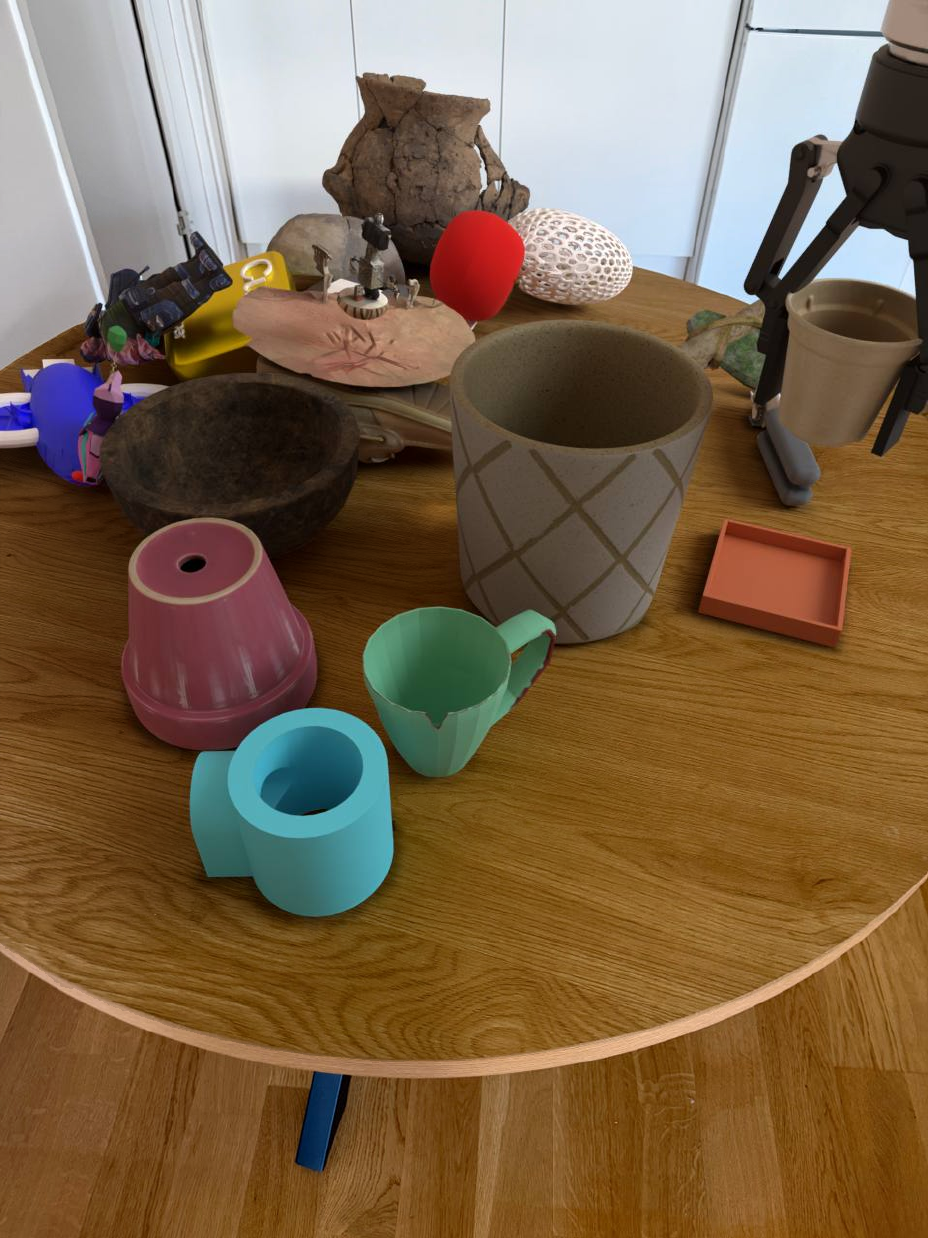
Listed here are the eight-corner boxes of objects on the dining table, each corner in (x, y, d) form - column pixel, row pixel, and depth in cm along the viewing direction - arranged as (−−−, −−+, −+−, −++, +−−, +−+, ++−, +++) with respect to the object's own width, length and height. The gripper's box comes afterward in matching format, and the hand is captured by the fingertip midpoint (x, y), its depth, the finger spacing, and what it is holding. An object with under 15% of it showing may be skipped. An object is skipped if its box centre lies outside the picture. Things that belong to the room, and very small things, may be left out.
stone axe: (577, 398, 94) (621, 253, 112) (568, 436, 98) (612, 290, 116) (827, 458, 92) (830, 300, 110) (808, 494, 95) (814, 336, 114)
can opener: (737, 403, 101) (748, 362, 98) (795, 406, 101) (808, 365, 98) (766, 508, 88) (780, 465, 84) (833, 512, 88) (849, 468, 84)
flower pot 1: (289, 632, 57) (308, 754, 66) (312, 496, 67) (326, 619, 76) (60, 629, 57) (110, 753, 66) (118, 493, 67) (154, 617, 76)
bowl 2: (413, 227, 121) (407, 291, 124) (281, 208, 120) (277, 272, 123) (408, 221, 104) (400, 295, 107) (253, 198, 103) (250, 273, 106)
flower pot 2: (861, 388, 68) (902, 275, 62) (914, 461, 61) (966, 342, 55) (738, 391, 67) (767, 277, 61) (778, 465, 61) (815, 345, 55)
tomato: (467, 173, 102) (550, 215, 103) (443, 241, 113) (519, 278, 114) (430, 251, 98) (518, 294, 99) (409, 314, 109) (488, 352, 110)
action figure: (214, 265, 88) (72, 381, 90) (256, 316, 93) (121, 424, 95) (172, 194, 101) (49, 296, 103) (211, 241, 106) (93, 338, 108)
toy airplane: (-71, 465, 79) (-57, 514, 82) (222, 443, 88) (223, 488, 92) (-66, 342, 95) (-55, 388, 98) (181, 334, 104) (184, 376, 107)
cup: (199, 919, 57) (169, 840, 51) (223, 792, 64) (199, 709, 57) (391, 915, 57) (385, 837, 51) (395, 790, 64) (390, 707, 58)
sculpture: (509, 327, 100) (538, 183, 89) (406, 442, 85) (424, 285, 73) (314, 252, 105) (316, 106, 93) (182, 348, 90) (165, 187, 78)
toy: (160, 293, 85) (133, 436, 93) (115, 279, 84) (91, 425, 91) (142, 345, 73) (111, 507, 80) (88, 330, 72) (62, 495, 79)
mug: (417, 831, 62) (413, 740, 55) (345, 736, 67) (334, 642, 60) (582, 736, 68) (598, 642, 61) (504, 656, 74) (510, 562, 67)
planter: (695, 650, 74) (754, 444, 60) (465, 672, 72) (470, 463, 58) (632, 508, 88) (667, 312, 74) (435, 523, 86) (434, 324, 72)
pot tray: (844, 564, 82) (851, 547, 81) (834, 648, 75) (842, 630, 73) (719, 534, 85) (724, 517, 84) (697, 612, 78) (702, 595, 76)
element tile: (175, 315, 109) (156, 282, 105) (293, 275, 109) (279, 241, 105) (184, 399, 101) (164, 367, 97) (312, 356, 101) (297, 322, 96)
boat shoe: (510, 399, 93) (492, 470, 97) (279, 337, 94) (272, 410, 98) (496, 427, 85) (478, 503, 89) (246, 359, 86) (239, 436, 91)
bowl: (243, 648, 73) (222, 553, 66) (77, 541, 83) (43, 448, 76) (414, 517, 86) (412, 426, 79) (254, 436, 95) (239, 348, 88)
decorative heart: (568, 322, 108) (631, 319, 121) (595, 227, 102) (658, 235, 116) (450, 277, 115) (521, 278, 128) (470, 187, 110) (542, 198, 123)
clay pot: (285, 235, 121) (303, 49, 111) (392, 238, 140) (416, 78, 129) (436, 284, 111) (471, 84, 101) (529, 280, 130) (567, 111, 119)
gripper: (739, 25, 51) (668, 385, 67) (1146, 108, 41) (949, 509, 57) (804, 6, 55) (723, 350, 71) (1190, 77, 45) (995, 460, 61)
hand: (824, 420), depth 64 cm, fingers closed on flower pot 2, 8 cm apart
